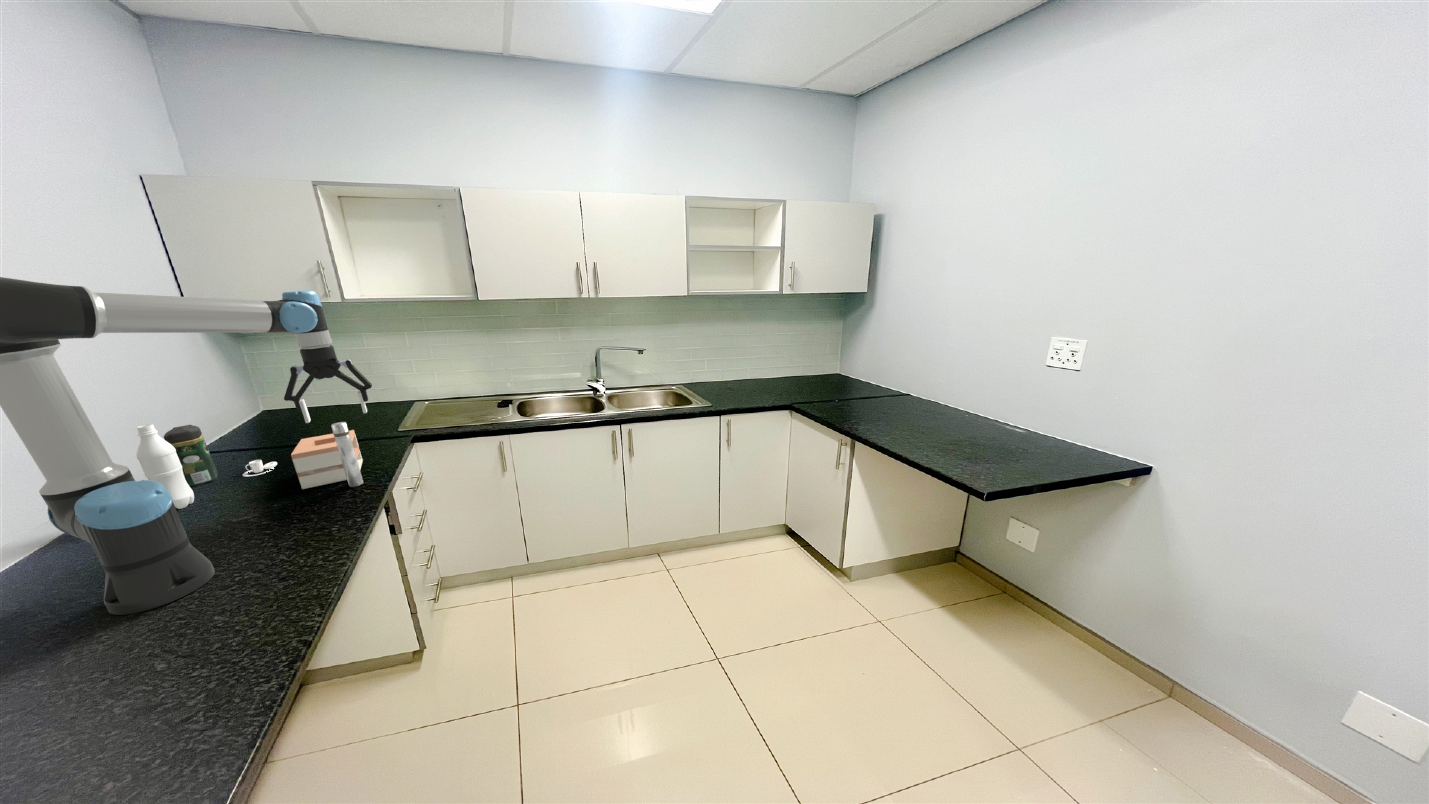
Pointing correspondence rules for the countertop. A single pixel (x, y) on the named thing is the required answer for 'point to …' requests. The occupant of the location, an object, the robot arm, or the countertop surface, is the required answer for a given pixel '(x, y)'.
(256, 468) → the teacup and saucer
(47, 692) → the countertop surface
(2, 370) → the robot arm
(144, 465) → the water bottle
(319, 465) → the tissue box
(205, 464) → the coffee jar
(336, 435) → the metal tube
